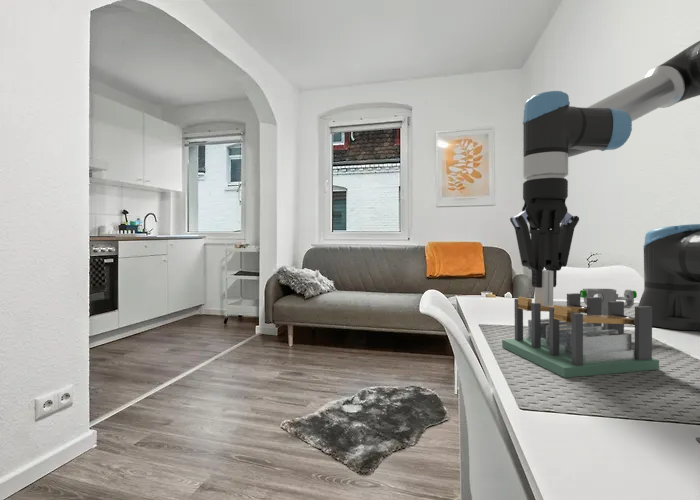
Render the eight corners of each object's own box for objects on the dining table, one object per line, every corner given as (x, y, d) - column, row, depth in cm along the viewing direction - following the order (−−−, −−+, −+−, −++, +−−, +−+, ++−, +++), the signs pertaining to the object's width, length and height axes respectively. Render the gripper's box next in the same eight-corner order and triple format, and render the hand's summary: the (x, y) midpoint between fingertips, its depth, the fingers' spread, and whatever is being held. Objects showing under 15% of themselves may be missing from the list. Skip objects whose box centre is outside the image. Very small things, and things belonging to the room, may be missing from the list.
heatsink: (567, 336, 77) (567, 316, 77) (634, 359, 62) (634, 334, 62) (526, 339, 76) (526, 319, 76) (585, 363, 61) (585, 338, 61)
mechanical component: (638, 338, 80) (638, 290, 80) (583, 337, 82) (583, 290, 82) (631, 335, 83) (631, 288, 83) (578, 333, 85) (578, 288, 85)
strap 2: (622, 321, 67) (623, 307, 67) (641, 326, 63) (642, 311, 63) (552, 319, 65) (553, 304, 65) (567, 323, 61) (568, 308, 61)
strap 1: (579, 311, 77) (579, 298, 77) (593, 314, 73) (594, 301, 73) (516, 308, 74) (517, 296, 74) (528, 312, 71) (529, 299, 71)
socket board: (579, 341, 79) (579, 334, 79) (659, 369, 62) (659, 359, 62) (502, 347, 76) (502, 339, 76) (564, 377, 59) (564, 368, 59)
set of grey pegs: (577, 335, 78) (577, 293, 78) (652, 359, 62) (652, 306, 62) (514, 339, 76) (514, 296, 76) (576, 365, 60) (576, 311, 60)
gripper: (562, 182, 78) (561, 300, 78) (500, 181, 75) (500, 302, 76) (592, 176, 70) (590, 306, 71) (524, 175, 68) (523, 309, 69)
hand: (543, 304), depth 73 cm, fingers closed, pressing on strap 1
